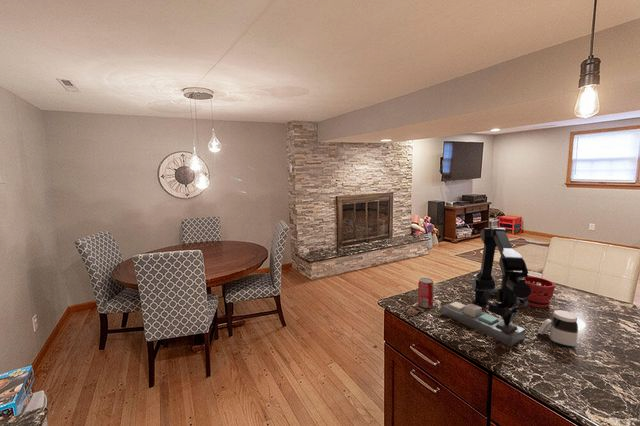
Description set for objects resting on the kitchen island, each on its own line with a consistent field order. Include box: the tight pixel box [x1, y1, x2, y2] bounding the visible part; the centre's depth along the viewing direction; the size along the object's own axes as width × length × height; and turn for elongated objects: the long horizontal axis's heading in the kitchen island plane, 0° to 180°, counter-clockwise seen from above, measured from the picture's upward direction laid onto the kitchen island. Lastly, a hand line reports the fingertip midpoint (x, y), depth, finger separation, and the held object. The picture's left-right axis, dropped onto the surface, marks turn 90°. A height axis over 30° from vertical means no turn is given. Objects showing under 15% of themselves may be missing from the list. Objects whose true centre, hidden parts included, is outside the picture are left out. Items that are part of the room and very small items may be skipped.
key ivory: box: [449, 301, 467, 311], centre depth 135 cm, size 5×5×4 cm
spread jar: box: [537, 309, 579, 349], centre depth 114 cm, size 12×11×12 cm
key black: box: [497, 321, 518, 333], centre depth 117 cm, size 5×5×4 cm
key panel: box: [441, 300, 526, 348], centre depth 126 cm, size 10×30×4 cm, turn 32°
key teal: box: [479, 313, 499, 325], centre depth 123 cm, size 5×5×4 cm
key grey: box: [464, 302, 483, 318], centre depth 128 cm, size 5×5×4 cm
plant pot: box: [523, 276, 556, 309], centre depth 145 cm, size 13×13×12 cm
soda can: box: [417, 277, 435, 309], centre depth 144 cm, size 7×7×13 cm
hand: (506, 325), depth 117 cm, fingers closed, pressing on key black
